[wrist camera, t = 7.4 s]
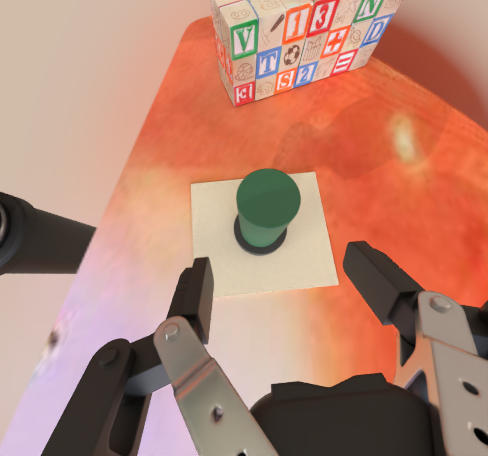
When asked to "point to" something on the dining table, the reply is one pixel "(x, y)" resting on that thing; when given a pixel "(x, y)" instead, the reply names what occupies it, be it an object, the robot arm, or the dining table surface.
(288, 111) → the dining table surface
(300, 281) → the napkin
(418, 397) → the robot arm
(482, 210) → the dining table surface
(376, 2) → the stack of blocks
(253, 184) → the green cylinder with base
